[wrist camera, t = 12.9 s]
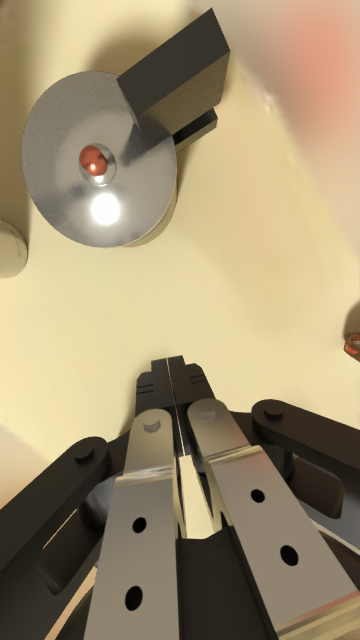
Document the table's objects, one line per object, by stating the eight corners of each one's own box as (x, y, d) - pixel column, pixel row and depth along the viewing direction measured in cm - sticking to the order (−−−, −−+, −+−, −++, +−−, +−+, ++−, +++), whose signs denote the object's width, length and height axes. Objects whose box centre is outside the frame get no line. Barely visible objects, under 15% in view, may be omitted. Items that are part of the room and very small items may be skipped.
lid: (82, 273, 30) (50, 278, 23) (-6, 137, 27) (-73, 95, 20) (248, 172, 27) (269, 142, 20) (171, 1, 24) (163, -106, 17)
